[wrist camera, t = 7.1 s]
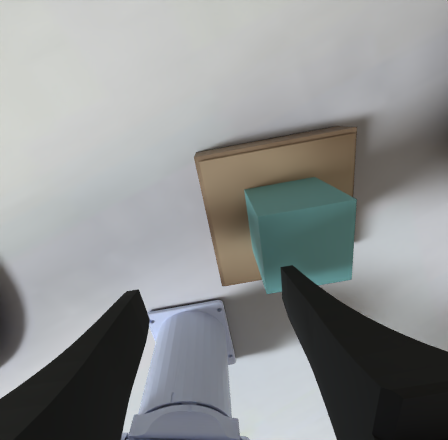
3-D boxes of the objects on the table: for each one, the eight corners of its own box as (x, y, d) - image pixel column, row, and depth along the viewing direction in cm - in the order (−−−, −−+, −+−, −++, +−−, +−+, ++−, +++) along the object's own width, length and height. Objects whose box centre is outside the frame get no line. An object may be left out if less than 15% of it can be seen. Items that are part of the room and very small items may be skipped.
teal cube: (315, 239, 18) (351, 279, 14) (252, 250, 18) (266, 294, 14) (315, 176, 16) (356, 199, 12) (244, 189, 16) (257, 217, 12)
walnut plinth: (334, 248, 22) (352, 266, 19) (221, 268, 22) (222, 289, 20) (337, 126, 18) (360, 127, 15) (196, 152, 18) (193, 158, 15)
